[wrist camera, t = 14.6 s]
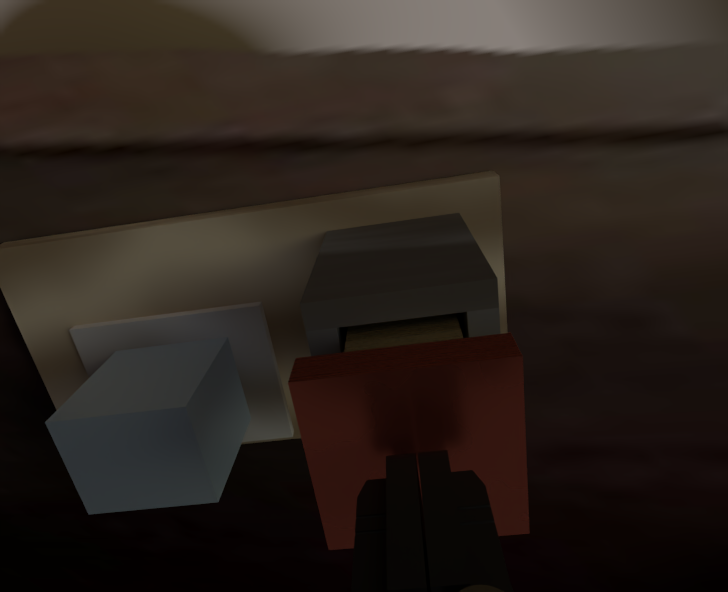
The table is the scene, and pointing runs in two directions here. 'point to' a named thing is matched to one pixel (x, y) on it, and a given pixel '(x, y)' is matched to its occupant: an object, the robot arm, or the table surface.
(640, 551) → the table surface
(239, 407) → the block
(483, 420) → the block
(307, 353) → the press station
